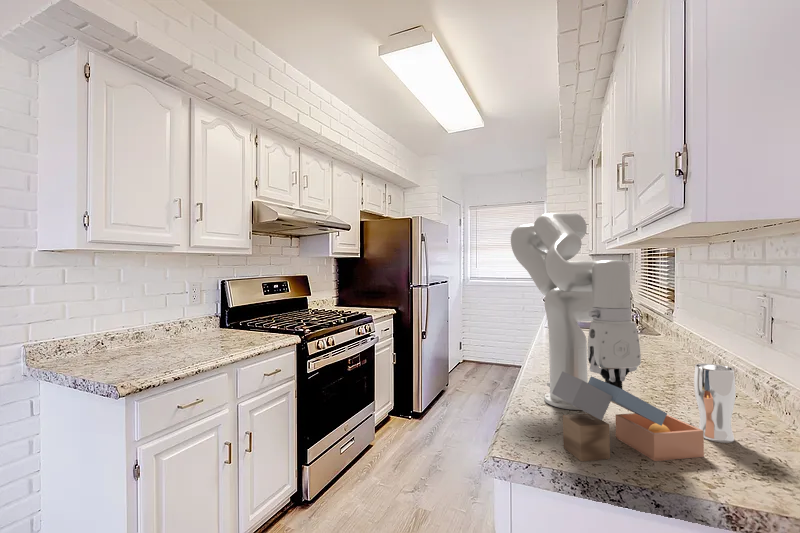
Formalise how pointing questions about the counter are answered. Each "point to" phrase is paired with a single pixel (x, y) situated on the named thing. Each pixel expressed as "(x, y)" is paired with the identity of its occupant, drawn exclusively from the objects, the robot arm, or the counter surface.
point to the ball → (658, 428)
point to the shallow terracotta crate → (660, 437)
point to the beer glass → (715, 400)
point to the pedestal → (586, 437)
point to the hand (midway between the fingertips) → (614, 398)
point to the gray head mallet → (602, 398)
